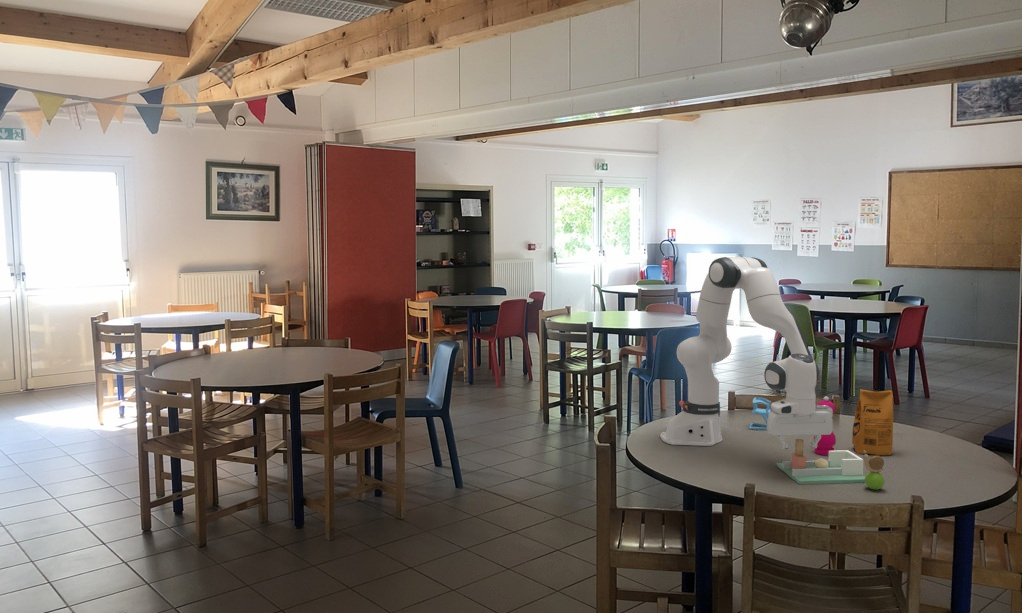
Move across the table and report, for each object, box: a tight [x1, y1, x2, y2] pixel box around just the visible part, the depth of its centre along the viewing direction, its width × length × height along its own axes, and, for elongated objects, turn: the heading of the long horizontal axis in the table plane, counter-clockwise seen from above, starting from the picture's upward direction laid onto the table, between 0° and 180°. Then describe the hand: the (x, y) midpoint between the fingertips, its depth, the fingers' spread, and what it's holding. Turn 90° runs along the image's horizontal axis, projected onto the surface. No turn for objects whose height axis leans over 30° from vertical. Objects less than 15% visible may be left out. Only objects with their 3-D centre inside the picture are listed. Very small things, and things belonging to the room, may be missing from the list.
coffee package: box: [851, 388, 894, 456], centre depth 271 cm, size 10×12×22 cm
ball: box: [815, 458, 828, 468], centre depth 249 cm, size 4×4×4 cm
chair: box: [748, 396, 772, 431], centre depth 303 cm, size 8×8×12 cm
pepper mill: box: [813, 396, 837, 456], centre depth 271 cm, size 7×7×20 cm
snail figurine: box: [863, 451, 885, 491], centre depth 234 cm, size 5×6×12 cm
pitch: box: [776, 449, 866, 485], centre depth 249 cm, size 22×18×6 cm
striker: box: [791, 438, 807, 469], centre depth 248 cm, size 2×5×10 cm, turn 3°
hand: (799, 448), depth 248 cm, fingers open, 8 cm apart
